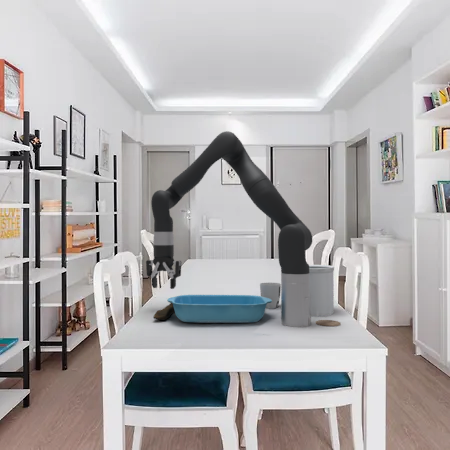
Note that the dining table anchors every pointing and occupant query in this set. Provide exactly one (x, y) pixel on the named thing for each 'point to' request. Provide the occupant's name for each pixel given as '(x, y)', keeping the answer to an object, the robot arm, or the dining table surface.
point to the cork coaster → (328, 323)
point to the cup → (271, 293)
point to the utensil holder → (321, 289)
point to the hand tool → (164, 312)
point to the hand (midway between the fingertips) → (163, 288)
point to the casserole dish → (219, 308)
